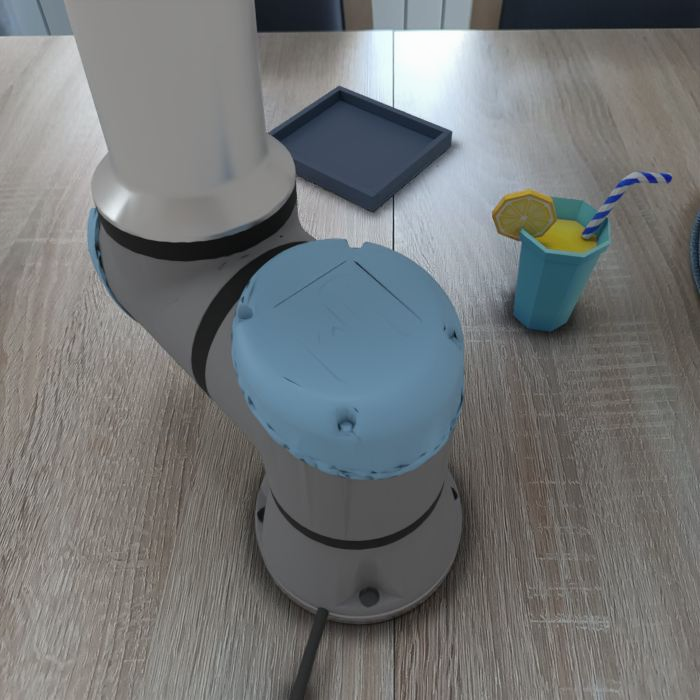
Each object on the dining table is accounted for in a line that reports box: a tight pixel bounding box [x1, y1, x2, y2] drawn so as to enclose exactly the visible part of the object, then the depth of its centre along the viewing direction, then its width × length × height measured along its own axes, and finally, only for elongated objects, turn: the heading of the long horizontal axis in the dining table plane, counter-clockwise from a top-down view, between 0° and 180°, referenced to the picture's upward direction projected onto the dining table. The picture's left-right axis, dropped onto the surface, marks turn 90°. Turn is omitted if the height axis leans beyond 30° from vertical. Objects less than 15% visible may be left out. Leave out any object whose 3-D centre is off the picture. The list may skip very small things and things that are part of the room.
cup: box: [491, 171, 673, 333], centre depth 57 cm, size 14×8×15 cm, turn 100°
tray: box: [267, 85, 453, 213], centre depth 79 cm, size 16×18×2 cm
